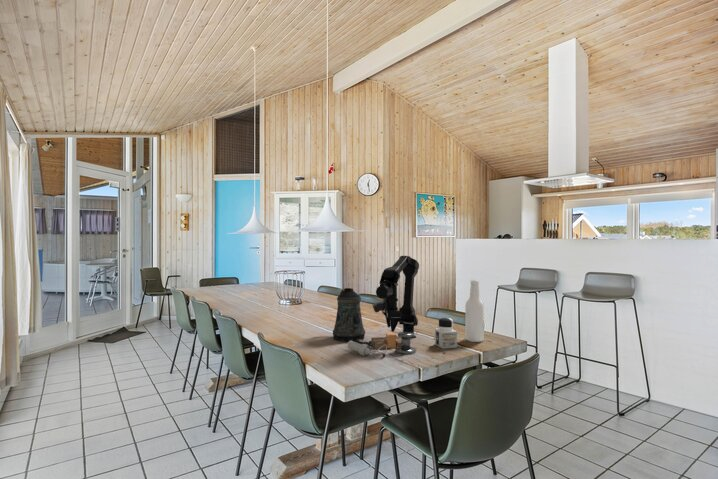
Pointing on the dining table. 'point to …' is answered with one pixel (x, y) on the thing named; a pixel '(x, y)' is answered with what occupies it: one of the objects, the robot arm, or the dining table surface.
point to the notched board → (383, 342)
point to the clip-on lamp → (362, 347)
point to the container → (445, 334)
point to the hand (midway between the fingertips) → (390, 329)
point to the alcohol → (474, 315)
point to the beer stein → (348, 317)
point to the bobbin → (405, 343)
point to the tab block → (391, 340)
